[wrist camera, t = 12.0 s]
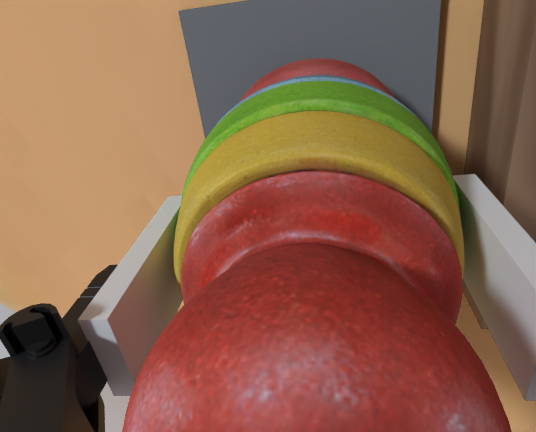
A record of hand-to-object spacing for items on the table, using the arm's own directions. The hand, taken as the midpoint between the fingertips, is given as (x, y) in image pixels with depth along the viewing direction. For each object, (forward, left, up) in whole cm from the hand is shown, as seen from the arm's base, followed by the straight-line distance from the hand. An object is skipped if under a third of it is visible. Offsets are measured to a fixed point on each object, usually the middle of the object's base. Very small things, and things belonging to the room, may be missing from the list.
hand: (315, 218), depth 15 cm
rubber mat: (0, 0, -8) cm, 8 cm away
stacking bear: (0, 0, -7) cm, 7 cm away
